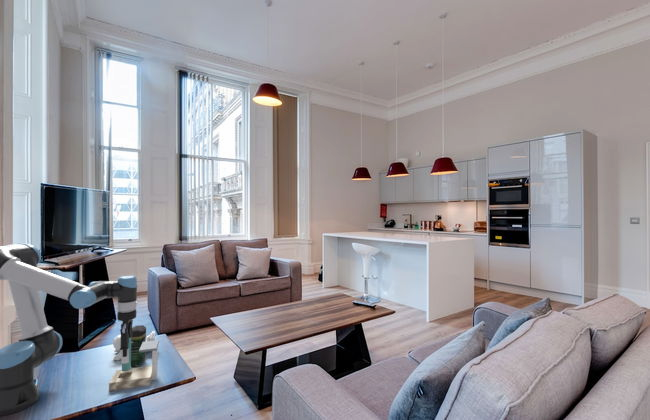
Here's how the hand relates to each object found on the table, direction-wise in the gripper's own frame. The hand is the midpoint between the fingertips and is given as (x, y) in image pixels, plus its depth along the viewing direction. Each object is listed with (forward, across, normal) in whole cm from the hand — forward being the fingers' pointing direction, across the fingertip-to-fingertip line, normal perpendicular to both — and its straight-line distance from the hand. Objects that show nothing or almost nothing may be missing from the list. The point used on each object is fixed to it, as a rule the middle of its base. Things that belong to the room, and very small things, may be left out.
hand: (126, 360), depth 147 cm
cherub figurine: (+10, +32, +2) cm, 34 cm away
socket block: (+10, 0, -3) cm, 10 cm away
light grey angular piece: (+10, 0, -10) cm, 14 cm away
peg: (+4, 0, 0) cm, 4 cm away
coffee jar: (+10, +20, -1) cm, 22 cm away
